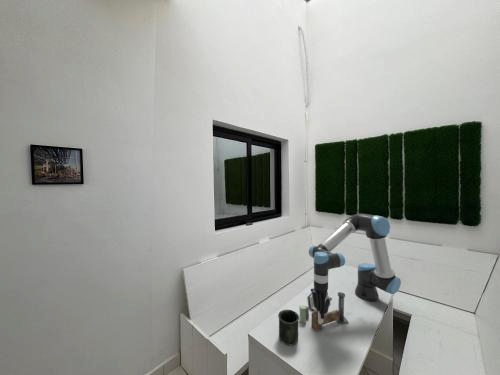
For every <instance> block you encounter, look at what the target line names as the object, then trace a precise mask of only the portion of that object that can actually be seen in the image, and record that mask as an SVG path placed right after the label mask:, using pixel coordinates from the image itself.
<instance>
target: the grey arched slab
mask: <svg viewBox="0 0 500 375" xmlns="http://www.w3.org/2000/svg"><path fill="white" fill-rule="evenodd" d="M306 297H307V298H306V300H307V306H308V308H309V310H313V312H316V311H317V309H316V308H315V307H314V303H313V297H312V292H311V293H309V294H308V295H307V296H306ZM325 301H326V300H325ZM331 305H332V304H331V303H330V305H329V306H331Z"/></svg>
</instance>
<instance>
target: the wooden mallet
mask: <svg viewBox="0 0 500 375" xmlns="http://www.w3.org/2000/svg"><path fill="white" fill-rule="evenodd" d="M336 320H339V311H338V309H335V310H331V311H328V312H327V313H325V314H324V318H323V323H322V324H319V323H318V316H317V311H316V312H314V311H313V312H311V327H312V329H313V330H314V331H316V332H318V331H320V330H323V325H327V324H330V323H333V322H337V321H336Z"/></svg>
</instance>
